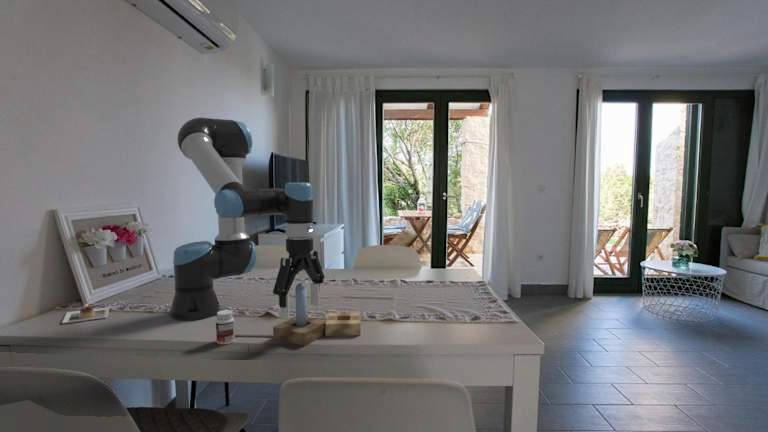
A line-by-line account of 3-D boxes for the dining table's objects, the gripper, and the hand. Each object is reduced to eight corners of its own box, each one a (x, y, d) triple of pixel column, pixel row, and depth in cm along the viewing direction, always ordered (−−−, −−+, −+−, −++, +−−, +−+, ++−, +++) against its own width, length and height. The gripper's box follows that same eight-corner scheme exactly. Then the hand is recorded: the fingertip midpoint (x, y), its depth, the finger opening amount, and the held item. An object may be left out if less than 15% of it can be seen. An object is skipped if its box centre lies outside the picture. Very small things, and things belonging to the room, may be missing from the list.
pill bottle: (219, 338, 122) (218, 309, 121) (236, 338, 122) (235, 309, 121) (214, 345, 117) (213, 315, 116) (232, 344, 117) (231, 314, 116)
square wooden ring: (273, 338, 121) (273, 326, 121) (298, 326, 131) (297, 315, 131) (304, 346, 116) (304, 333, 116) (328, 332, 126) (328, 321, 126)
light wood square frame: (325, 335, 124) (325, 323, 123) (328, 323, 134) (328, 312, 133) (360, 335, 124) (360, 323, 124) (360, 323, 134) (360, 312, 134)
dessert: (107, 320, 138) (107, 305, 138) (61, 326, 132) (60, 311, 132) (109, 310, 149) (108, 296, 148) (66, 315, 143) (66, 301, 142)
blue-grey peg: (294, 336, 123) (293, 283, 122) (301, 333, 126) (300, 281, 124) (302, 338, 122) (301, 284, 120) (309, 335, 124) (308, 282, 123)
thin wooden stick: (220, 336, 123) (220, 334, 123) (222, 335, 124) (221, 333, 124) (277, 337, 123) (277, 335, 123) (278, 336, 123) (278, 334, 123)
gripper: (280, 244, 108) (282, 327, 110) (335, 233, 130) (336, 301, 132) (257, 242, 112) (259, 322, 114) (315, 231, 134) (316, 298, 136)
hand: (300, 311), depth 123 cm, fingers open, 13 cm apart
